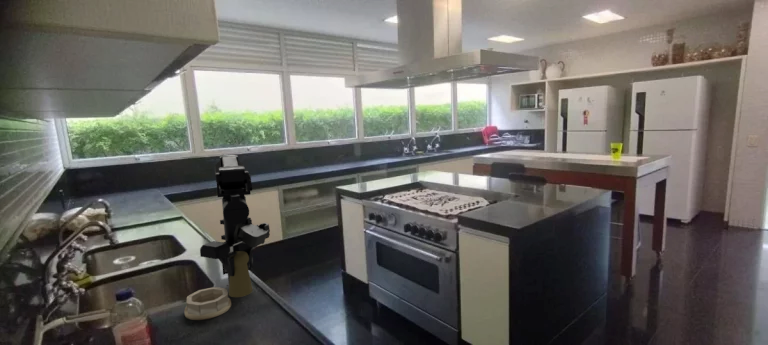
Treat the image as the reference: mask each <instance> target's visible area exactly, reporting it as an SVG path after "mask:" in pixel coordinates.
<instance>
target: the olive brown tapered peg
mask: <svg viewBox="0 0 768 345" xmlns="http://www.w3.org/2000/svg"><path fill="white" fill-rule="evenodd" d="M248 261H249V256H248V254H247V252H244V251H237V254H236V256H235V257H234V276H230V282H229V294H228V297H231V298H242V297H245V296H248V295H250V294H251V293H253V290H254V289H253V285H252V280H251V277H250V270H248V266H247V263H248Z"/></svg>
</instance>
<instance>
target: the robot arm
mask: <svg viewBox="0 0 768 345" xmlns="http://www.w3.org/2000/svg"><path fill="white" fill-rule="evenodd" d="M219 158H220V160H219V161H218V162H217V163H216V164H215V165H214V174H215V175H214V176H215V182H216V192H217V193H216V194H217V198H221V204H222V206H221V207H222V216H223V219H220V220H219V224H220V225H223V228H224V234H222V235H220V236H221V237H220V239H221V240H222V241H223V240H224V241H223V242H222V241H217V240H213V241H211V242H208V243H205V244H202V245H201V247H200V248H199V255H200V257H202V258H208V259H214V260H219V262H220V263H221V266H222V275H227V282H228V283H227V285H226V289H227V292H228V295H229V282H230V276H234V257H235V256H236V254H237V251H244V252H247V254H248V256H249V261H248V263H247V266H248V271H252V269H253V268H254V255H253V254H254V251H255V249H256V248H257V247H258V246H261V245H264V244H265V242H266V239H268V238H270V231H271V230H270V224H269V223H267V222H262V223H259V224H255V225H254V224H253V222H252V221H253V219H252V218H251V217H249V216H250V208H249V206H248V203H247V198H246V195H247V196H248V195H249V196H250V195H251V191H253V182H252V176H251V174H250V173H249V171H248V170H246V168H245V166H244V163H242V162H241V161H240V160H239V155H235V154H231V155H230V154H228V155H225V154H224V155H221V156H219Z"/></svg>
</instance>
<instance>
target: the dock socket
mask: <svg viewBox="0 0 768 345" xmlns="http://www.w3.org/2000/svg"><path fill="white" fill-rule="evenodd" d="M231 307H232V299H231V298H230V297H229V294H228V290H227V287H225V288H224V287H219V286H212V287H208V288H202V289H198V290H197V291H195V292H193V293H191V294H189V295H187V297H186V306H185V308H184V311H183V312H184V316H185V318H186V319H188V320H193V321H202V320H209V319H213V318H217V317H219V316H221V315H223V314H225V313H226V312H228V311H229V310H230V309H231Z"/></svg>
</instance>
